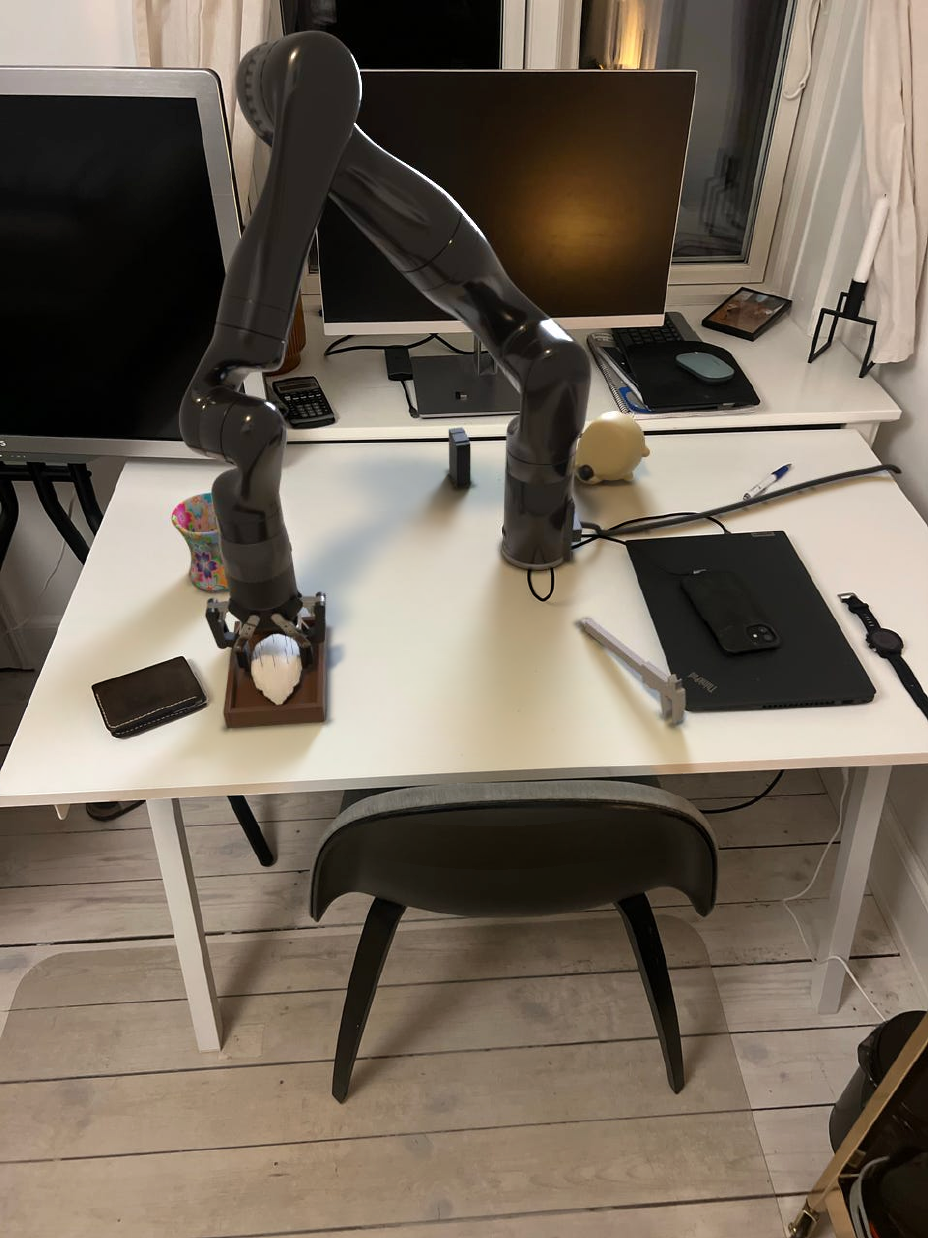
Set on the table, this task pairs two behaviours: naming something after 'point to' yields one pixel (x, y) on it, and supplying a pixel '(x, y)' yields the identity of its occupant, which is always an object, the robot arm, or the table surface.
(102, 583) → the table surface
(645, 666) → the caliper
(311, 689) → the tray
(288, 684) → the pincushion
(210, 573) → the mug
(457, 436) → the ink cartridge
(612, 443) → the toy pig
